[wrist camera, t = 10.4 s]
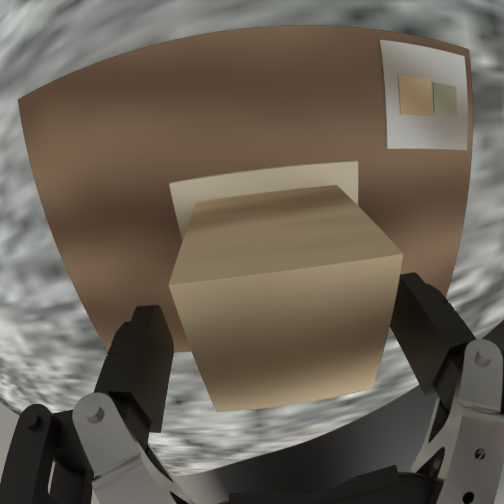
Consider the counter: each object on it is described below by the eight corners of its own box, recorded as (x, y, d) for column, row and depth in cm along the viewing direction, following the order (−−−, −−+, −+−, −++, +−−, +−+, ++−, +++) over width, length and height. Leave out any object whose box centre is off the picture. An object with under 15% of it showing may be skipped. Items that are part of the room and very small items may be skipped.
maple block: (196, 201, 12) (168, 284, 7) (336, 185, 12) (403, 253, 7) (220, 312, 15) (216, 411, 10) (335, 296, 15) (372, 388, 10)
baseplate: (31, 97, 10) (15, 99, 9) (455, 50, 10) (471, 49, 9) (114, 341, 18) (109, 356, 17) (434, 298, 18) (443, 311, 17)
